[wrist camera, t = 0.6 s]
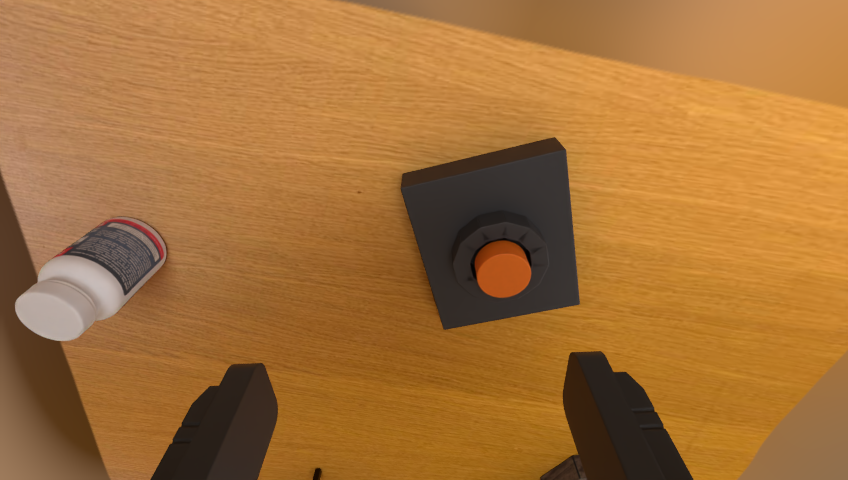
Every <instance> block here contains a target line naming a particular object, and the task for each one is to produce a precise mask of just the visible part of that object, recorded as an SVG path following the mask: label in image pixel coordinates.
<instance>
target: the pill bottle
mask: <svg viewBox="0 0 848 480" xmlns="http://www.w3.org/2000/svg"><path fill="white" fill-rule="evenodd" d="M165 260H166V246H165V244H164V242H163V240H162V238H161V237H160V235H159V234H158V233H157V232H156V231H155V230H154V229H153V228H151V227H150V226H149V225H147V224H145V223H144V222H142V221H139V220H137V219H134V218H129V217H114V218H110V219H108V220H106V221H104V222H103V223H101V224H100V225H98V226H97V227H96V228H94V229H93V230H91V231H90V232H88V233H87V234H86V235H85V236H83V237H82V238H80V239H79V240H77V241H76V242H75V243H73V244H72V245H71V246H69V247H68V248H66V249H65V250H63V251H62V252H60V253H59V254H57V255H56V256H55V257H53V258H52V259H51V260H49V261H48V262H47V263H46V264H45V265H44V266H43V267H42V268H41V270H40V272H39V275H38V283H36V284H35V285H33V286H32V287H31V288H30V289H28V290H27V291H26V292H25V293H23V294H22V295H21V296H20V297H19V298H18V299H17V301H16V303H15V311H16V313H17V316H18V317H19V319H20V320H21V321H22V323H23V324H24V325H25V326H26V327H28V328H29V329H30V330H32V331H33V332H35V333H36V334H38V335H41V336H43V337H46V338H48V339H52V340H58V341H69V340H73V339H76V338H78V337H79V336H80V335H81V334H83V333H84V332H85V331H86V330H87V329H88V328H89V327H90V326H91V325H92V324H93V323H94V321H99V320H104V319H107V318H109V317H111V316H113V315H114V314H116V313H117V312H118V311H119V310H120V309H121V308H122V307H123V306H124V305H125V304H126V303H127V301H128V300H129V299H130V298H131V297H132V296H133V295H134V294H135V293H136V292H137V291H138V290H139V289H140V288H141V287H142V286H143V285H144V284H145V283H146V282H147V281H148V280H149V279H150V278H151V277H152V276H153V275H154V274H155V273H156V272H157V271H158V270H159V269H160V268H161V266H162V265H163V264H164V262H165Z"/></svg>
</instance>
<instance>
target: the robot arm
mask: <svg viewBox="0 0 848 480" xmlns="http://www.w3.org/2000/svg"><path fill="white" fill-rule="evenodd" d="M563 404H564V410H565V415H566V418H567V421H568V424H569V427H570V430H571V433H572V436H573V439H574V442H575V445H576V448H577V451H578V454H579V457H580V460H581V463H582V466H583V469H584V472H585V475H586V478H587V480H693V478H692V476H691V474H690V473H689V471H688V469H687V467H686V465H685V463H684V462H683V460H682V458H681V456H680V454H679V452H678V451H677V449H676V447H675V445H674V443H673V442H672V440H671V438H670V436H669V434H668V432H667V431H666V429H664V427H663V423H662V421H661V420H660V418H659V416H658V414H657V412H655V411H654V407H653V405H652V403H651V401H650V400H649V398H648V396H647V394H646V392H645V390H644V389H643V388H642V387H641V386H640V385H639V384H638V383H637V382H636V381H635V380H634V379H633V378H632V377H631V376H630V375H629V374H627V373H626V372H613V370H612V368H611V366H610V364H609V362H608V360H607V358H606V356H605V355H604V354H603V353H602V352H601V351H596V352H572V353H571V354H570V355H569V360H568V366H567V371H566V377H565V383H564V389H563ZM277 414H278V405H277V400H276V397H275V394H274V391H273V388H272V385H271V382H270V380H269V377H268V374H267V371H266V368H265V366H264V365H263V364H262V363H254V364H233V365H231V366H230V367H229V368H228V370H227V371H226V373H225V375H224V377H223V379H222V381H221V383H220V385H219V386H210V387H209V388H208V389H207V390H206V391H205V392H204V393H203V394H202V395H201V396H200V397H199V398H198V399H197V400H196V401H195V402H194V403H193V404H192V405H191V407H190V409H189V411H188V413H187V415H186V416H185V418H184V420H183V422H182V426H181V427H179V429H178V431H177V433H176V434H175V436H174V438H173V443H172V444H170V445H169V447H168V449H167V451H166V453H165V454H164V456H163V458H162V460H161V462H160V463H159V465H158V467H157V469H156V471H155V472H154V474H153V476H152V478H151V480H257V479H258V476H259V473H260V470H261V467H262V464H263V461H264V458H265V455H266V452H267V449H268V446H269V443H270V440H271V437H272V434H273V431H274V428H275V425H276V421H277Z"/></svg>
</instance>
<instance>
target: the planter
mask: <svg viewBox="0 0 848 480" xmlns="http://www.w3.org/2000/svg"><path fill="white" fill-rule="evenodd" d="M321 473H322V471H321V469H320V468H318V469H315V472H314V477H313V480H320V477H321Z"/></svg>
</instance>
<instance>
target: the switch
mask: <svg viewBox="0 0 848 480" xmlns="http://www.w3.org/2000/svg"><path fill="white" fill-rule="evenodd" d="M475 271H476V277H477V282H478V285H479V287H480V288H481V289H482V290H483V291H484V292H485V293H487V294H488V295H490V296H493V297H498V298H505V297H511V296H514V295H516V294H518V293H520V292H521V291H522V290H524V289H525V288H526V286H527V285H528V283H529V281H530V278H531V268H530V265H529V263H528V260H527V257H526V255H525V252H524V251H523V249H522V248H521V247H520V246H519V245H517V244H515V243H513V242H510V241H503V240H502V241H495V242H492V243H489V244H487V245H486V246H484V247H483V248H482V249H481V250H480V251H479V252H478V254H477V256H476V258H475Z"/></svg>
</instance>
